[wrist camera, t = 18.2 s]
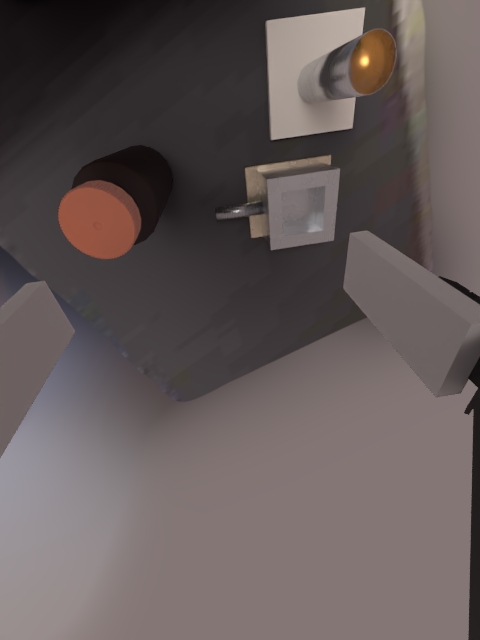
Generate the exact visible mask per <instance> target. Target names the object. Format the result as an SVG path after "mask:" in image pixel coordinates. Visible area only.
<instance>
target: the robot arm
mask: <svg viewBox="0 0 480 640" xmlns="http://www.w3.org/2000/svg"><path fill="white" fill-rule="evenodd" d="M343 289H344V290H345V291H346V292H347V293H348V295H349V296H350V297H351V298H352V299H353V301H354V302H355V303H356V304H357V305H358V306H359V308H360V309H361V310H362V311H363V312H364V313H365V315H366V316H367V317H368V318H369V319H370V321H371V322H372V323H373V324H374V325H375V326H376V327H377V329H378V330H379V331H380V332H381V333H382V335H383V336H384V337H385V338H386V339H387V340H388V342H389V343H390V344H391V345H392V346H393V347H394V349H395V350H396V351H397V352H398V353H399V355H400V356H401V357H402V358H403V359H404V360H405V362H406V363H407V364H408V365H409V366H410V368H411V369H412V370H413V371H414V372H415V373H416V375H417V376H418V377H419V378H420V379H421V380H422V382H423V383H424V384H425V385H426V386H427V388H428V389H429V390H430V391H431V392H432V393H433V395H434V396H435V397H441V396H447V395H453V394H459V393H461V392H462V390H463V388H464V386H465V384H466V383H467V381H468V379H470V380H471V381H472V382H473V383H474V384H475V385H476V386H477V387H478V390H477V391H476V393H475V395H474V396H473V398H472V400H471V401H470V403H469V404H468V406H467V408H466V410H465V412H464V413H465V414H468V415H469V413H470V412H471V410H472V409H474V416H473V417H474V419H473V462H472V465H473V466H472V507H471V508H472V509H471V554H470V556H471V557H470V600H469V601H470V602H469V640H480V297H479V296H477V295H476V294H474V293H473V292H469V290H468V289H466V288H465V287H463V286H462V285H460V284H459V283H457V282H454V281H452V280H449V279H446V278H443V277H440V276H439V277H437V276H436V275H434V274H433V273H431V272H430V271H428V270H426V269H425V268H423V267H422V266H420V265H419V264H417V263H416V262H414V261H413V260H411V259H410V258H408V257H407V256H405V255H404V254H402V253H401V252H399V251H398V250H396V249H395V248H393V247H392V246H390V245H389V244H387V243H386V242H384V241H383V240H381V239H379V238H378V237H376V236H375V235H373V234H372V233H370V232H369V231H361V232H354V233H350V237H349V245H348V254H347V262H346V270H345V278H344V286H343ZM74 333H75V330H74V329H73V327H72V325H71V324H70V322H69V320H68V319H67V317H66V315H65V314H64V312H63V311H62V309H61V307H60V306H59V304H58V302H57V301H56V299H55V297H54V296H53V294H52V292H51V291H50V289H49V287H48V286H47V284H46V282H45V281H39V282H33V283H27V284H25V285H24V286H23V287H22V288H21V289H20V290H19V291H18V292H17V293H16V294H15V295H13V296H12V297H11V298H10V299H9V300H8V301H7V302H6V303H5V304H4V305H3V306H2V307H1V308H0V458H1V456H2V454H3V453H4V451H5V449H6V448H7V446H8V444H9V443H10V441H11V439H12V437H13V436H14V434H15V432H16V430H17V429H18V427H19V425H20V424H21V422H22V421H23V419H24V417H25V415H26V414H27V412H28V410H29V409H30V407H31V405H32V404H33V402H34V400H35V399H36V397H37V395H38V394H39V392H40V390H41V388H42V387H43V385H44V383H45V382H46V379H47V378H48V377H49V375H50V373H51V371H52V370H53V368H54V366H55V365H56V363H57V361H58V360H59V358H60V356H61V355H62V353H63V351H64V350H65V348H66V346H67V345H68V343H69V341H70V339H71V338H72V336H73V334H74Z"/></svg>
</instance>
